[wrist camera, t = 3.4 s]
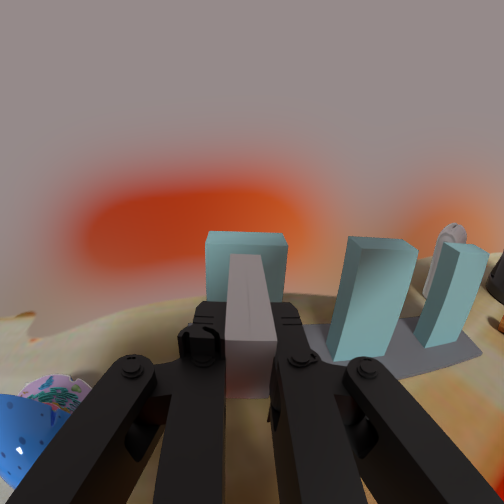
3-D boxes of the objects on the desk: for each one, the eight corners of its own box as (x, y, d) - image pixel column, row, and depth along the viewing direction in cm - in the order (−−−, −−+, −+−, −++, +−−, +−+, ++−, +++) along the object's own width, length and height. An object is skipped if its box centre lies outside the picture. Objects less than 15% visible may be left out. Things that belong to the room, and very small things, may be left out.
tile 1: (443, 327, 29) (472, 243, 24) (456, 341, 26) (489, 253, 21) (412, 332, 28) (442, 241, 24) (424, 348, 25) (460, 252, 21)
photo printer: (439, 306, 34) (461, 231, 30) (418, 296, 38) (437, 222, 33) (454, 288, 40) (471, 225, 35) (436, 280, 43) (452, 218, 39)
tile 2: (373, 337, 28) (401, 238, 24) (383, 355, 25) (418, 250, 21) (325, 341, 28) (347, 235, 23) (333, 361, 25) (361, 248, 20)
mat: (444, 315, 32) (445, 312, 32) (481, 355, 23) (482, 352, 23) (188, 325, 30) (188, 322, 30) (173, 391, 21) (173, 389, 20)
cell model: (121, 398, 19) (88, 308, 15) (149, 524, 9) (83, 479, 5) (28, 402, 15) (-19, 317, 11) (25, 515, 5) (-68, 445, 1)
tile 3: (270, 343, 27) (281, 232, 23) (273, 365, 24) (288, 245, 20) (212, 342, 27) (209, 230, 22) (210, 364, 24) (205, 243, 19)
